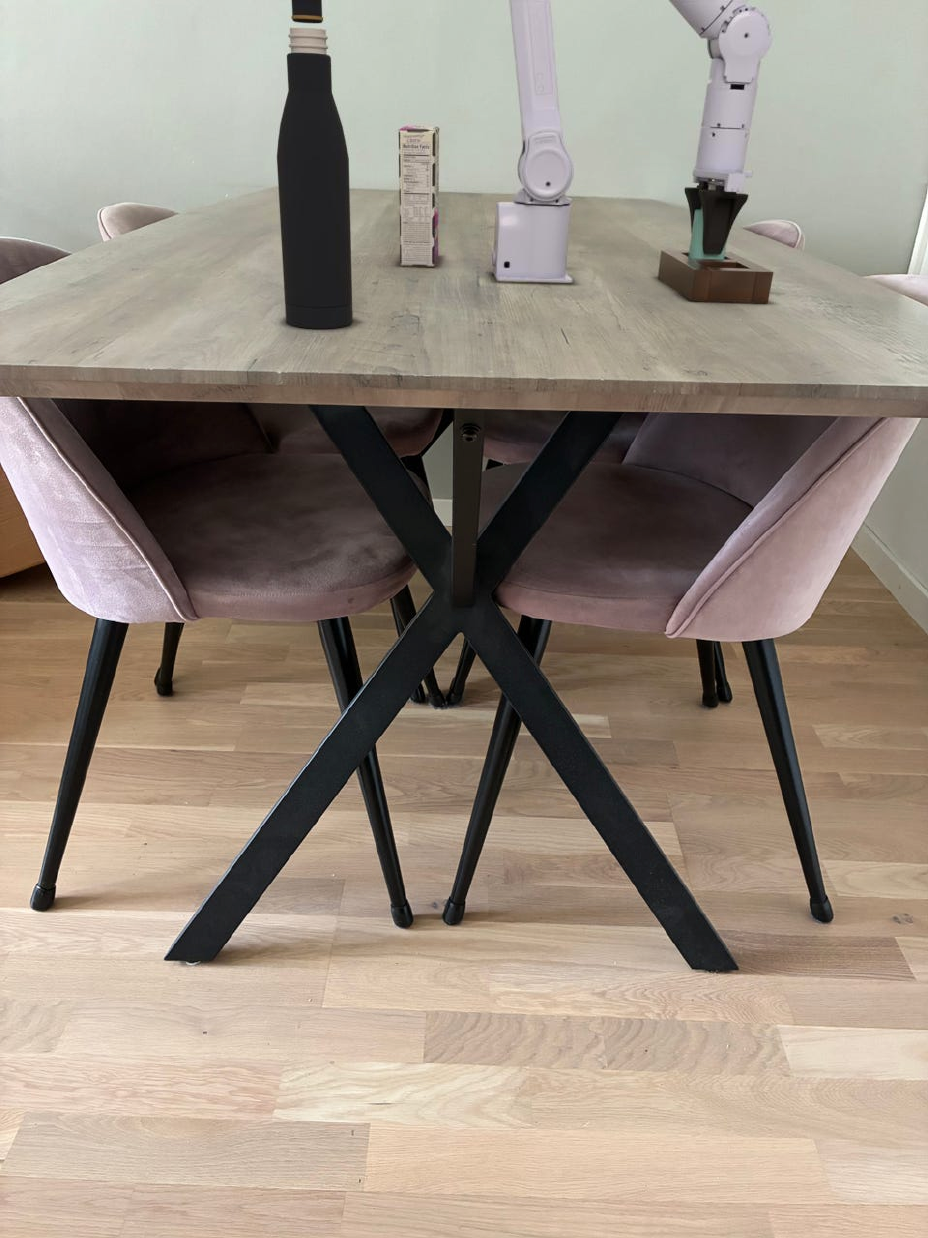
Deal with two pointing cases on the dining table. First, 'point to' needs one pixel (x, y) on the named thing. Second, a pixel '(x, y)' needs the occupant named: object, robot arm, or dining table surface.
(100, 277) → the dining table surface
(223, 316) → the dining table surface
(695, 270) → the peg block
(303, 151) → the black bottle
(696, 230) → the small bottle
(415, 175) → the candy bar box
